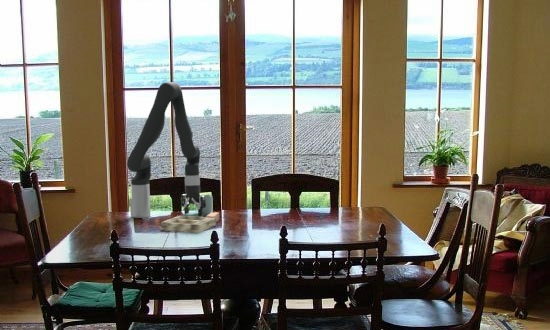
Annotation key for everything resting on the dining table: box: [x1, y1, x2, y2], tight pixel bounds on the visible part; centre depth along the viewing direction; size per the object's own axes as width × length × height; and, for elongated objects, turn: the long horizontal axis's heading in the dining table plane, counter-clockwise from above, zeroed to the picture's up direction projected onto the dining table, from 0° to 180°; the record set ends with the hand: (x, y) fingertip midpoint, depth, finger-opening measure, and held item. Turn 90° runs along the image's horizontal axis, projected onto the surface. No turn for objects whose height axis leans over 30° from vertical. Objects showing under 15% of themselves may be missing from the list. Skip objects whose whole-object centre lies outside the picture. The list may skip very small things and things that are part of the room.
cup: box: [200, 194, 214, 216], centre depth 291 cm, size 8×8×10 cm
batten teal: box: [182, 210, 204, 217], centre depth 277 cm, size 10×4×4 cm, turn 142°
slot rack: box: [160, 214, 217, 234], centre depth 261 cm, size 20×17×4 cm
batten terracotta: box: [205, 211, 220, 223], centre depth 273 cm, size 10×4×4 cm, turn 171°
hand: (193, 215), depth 277 cm, fingers open, 8 cm apart
